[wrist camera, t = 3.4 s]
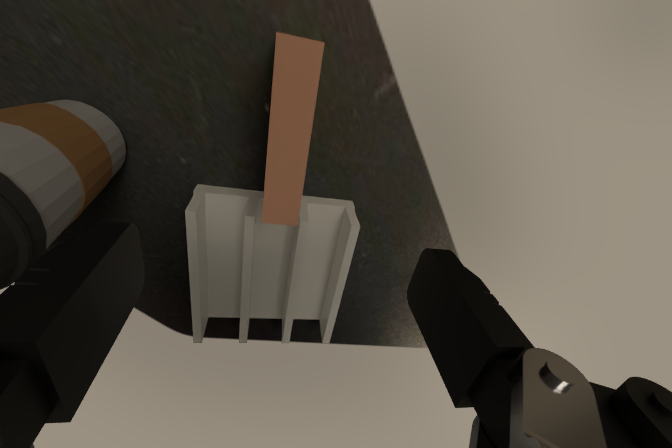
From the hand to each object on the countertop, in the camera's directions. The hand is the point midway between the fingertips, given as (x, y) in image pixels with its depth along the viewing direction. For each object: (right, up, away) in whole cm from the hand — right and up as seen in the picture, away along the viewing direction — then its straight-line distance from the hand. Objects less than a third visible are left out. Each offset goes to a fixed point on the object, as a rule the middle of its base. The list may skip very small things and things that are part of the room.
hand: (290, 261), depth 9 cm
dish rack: (-6, -3, +25) cm, 26 cm away
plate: (-3, +11, +17) cm, 21 cm away
